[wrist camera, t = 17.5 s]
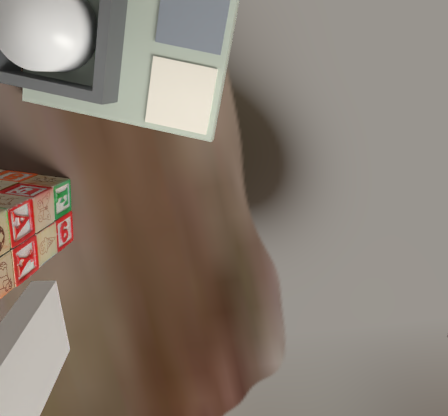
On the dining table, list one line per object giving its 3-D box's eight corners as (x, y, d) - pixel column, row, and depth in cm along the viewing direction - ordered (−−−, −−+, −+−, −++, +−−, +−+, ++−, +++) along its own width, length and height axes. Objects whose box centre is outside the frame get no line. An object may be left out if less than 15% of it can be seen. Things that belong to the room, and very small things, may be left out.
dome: (19, 63, 30) (-12, 61, 27) (21, -25, 28) (-12, -38, 25) (94, 79, 30) (72, 79, 27) (101, -9, 28) (78, -20, 25)
